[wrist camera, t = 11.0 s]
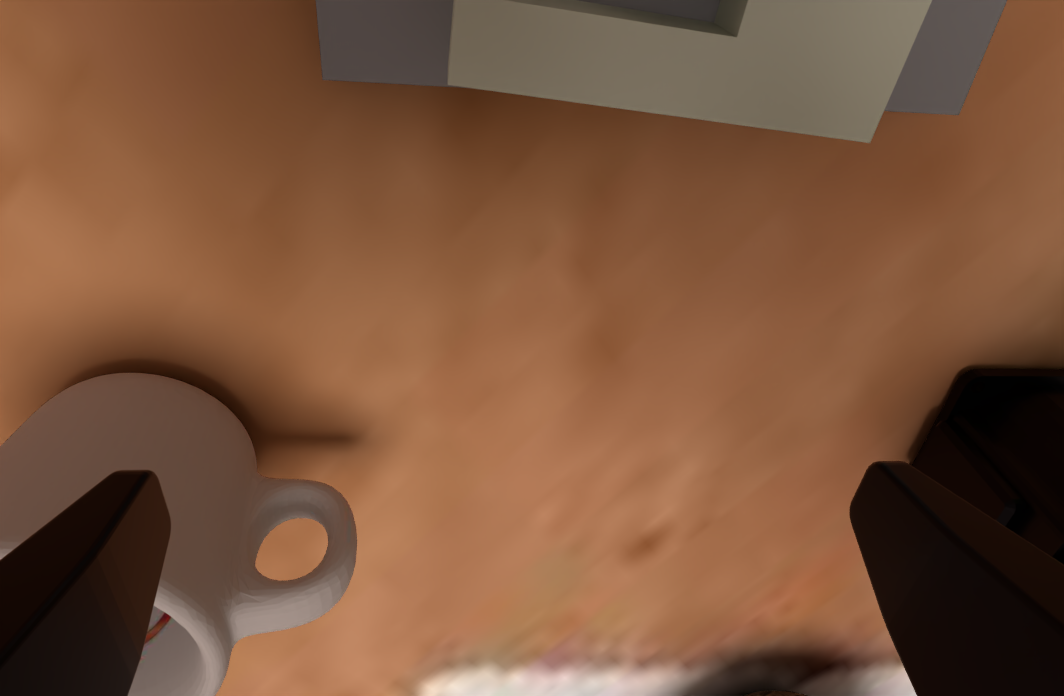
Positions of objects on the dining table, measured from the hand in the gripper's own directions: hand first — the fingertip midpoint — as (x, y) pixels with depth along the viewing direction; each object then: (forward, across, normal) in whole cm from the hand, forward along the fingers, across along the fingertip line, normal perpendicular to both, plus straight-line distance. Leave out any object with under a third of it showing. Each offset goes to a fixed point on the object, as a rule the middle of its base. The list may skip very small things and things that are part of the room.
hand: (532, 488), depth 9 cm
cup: (+12, +9, +10) cm, 18 cm away
